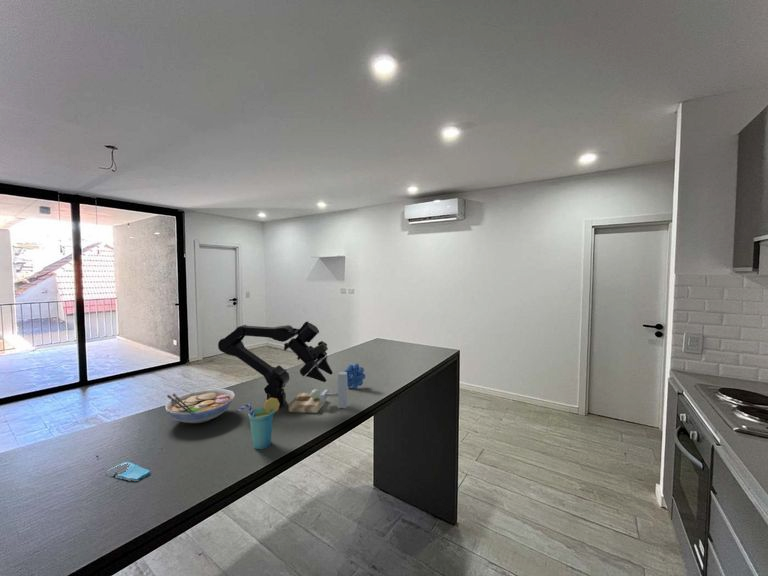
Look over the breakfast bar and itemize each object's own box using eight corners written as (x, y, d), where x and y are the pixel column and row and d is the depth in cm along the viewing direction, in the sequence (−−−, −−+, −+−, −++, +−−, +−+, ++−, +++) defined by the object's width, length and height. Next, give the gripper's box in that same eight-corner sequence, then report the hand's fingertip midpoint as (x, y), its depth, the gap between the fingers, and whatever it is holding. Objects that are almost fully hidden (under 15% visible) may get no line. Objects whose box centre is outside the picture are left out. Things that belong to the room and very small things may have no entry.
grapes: (369, 387, 153) (369, 362, 152) (362, 392, 146) (362, 366, 146) (348, 383, 157) (347, 359, 157) (340, 388, 151) (340, 363, 151)
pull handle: (320, 408, 128) (319, 375, 127) (324, 402, 134) (324, 370, 133) (345, 409, 127) (344, 375, 126) (348, 403, 133) (348, 371, 132)
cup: (246, 461, 94) (244, 410, 93) (231, 452, 98) (230, 404, 97) (285, 440, 105) (284, 395, 104) (270, 433, 109) (269, 390, 109)
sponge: (127, 484, 83) (151, 469, 88) (103, 472, 88) (127, 458, 93) (128, 489, 83) (152, 474, 88) (104, 477, 88) (128, 463, 93)
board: (288, 411, 126) (288, 404, 126) (299, 399, 138) (299, 392, 138) (316, 412, 125) (316, 405, 125) (325, 400, 137) (325, 393, 137)
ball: (309, 400, 129) (308, 391, 129) (312, 397, 133) (312, 387, 133) (318, 401, 129) (318, 391, 129) (321, 397, 133) (321, 387, 133)
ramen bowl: (247, 418, 121) (246, 397, 120) (176, 442, 104) (175, 418, 104) (221, 400, 138) (220, 382, 137) (157, 419, 121) (156, 397, 121)
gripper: (307, 341, 121) (336, 370, 120) (322, 332, 139) (347, 357, 138) (287, 361, 122) (316, 391, 121) (305, 349, 140) (330, 375, 140)
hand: (328, 377), depth 130 cm, fingers open, 9 cm apart
